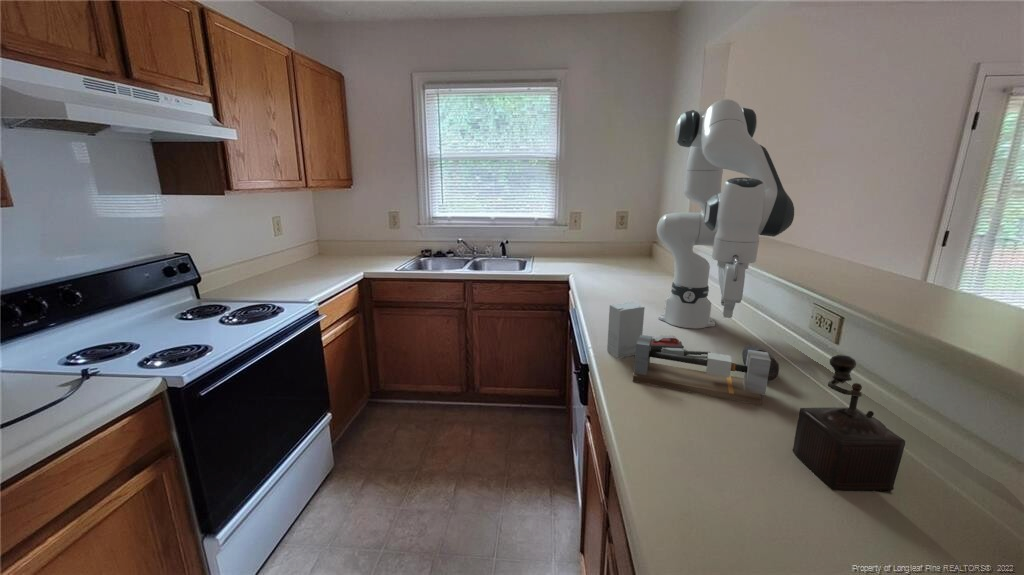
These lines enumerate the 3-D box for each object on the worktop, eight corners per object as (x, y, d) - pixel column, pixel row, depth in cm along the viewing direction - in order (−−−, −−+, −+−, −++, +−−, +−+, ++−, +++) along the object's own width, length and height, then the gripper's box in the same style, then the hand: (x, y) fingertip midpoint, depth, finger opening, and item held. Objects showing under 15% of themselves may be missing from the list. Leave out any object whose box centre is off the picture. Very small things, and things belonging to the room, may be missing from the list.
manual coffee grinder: (899, 492, 67) (928, 391, 62) (831, 491, 67) (854, 391, 62) (828, 435, 82) (847, 351, 77) (773, 435, 82) (788, 350, 77)
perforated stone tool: (734, 359, 117) (738, 336, 115) (754, 361, 116) (758, 338, 114) (755, 384, 103) (760, 358, 101) (778, 386, 102) (783, 360, 100)
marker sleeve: (705, 367, 103) (707, 352, 102) (728, 370, 101) (730, 355, 100) (706, 373, 99) (708, 358, 98) (729, 377, 97) (731, 362, 96)
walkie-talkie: (640, 356, 120) (711, 359, 118) (642, 342, 119) (713, 345, 117) (634, 345, 128) (700, 347, 127) (635, 331, 127) (702, 334, 125)
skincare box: (629, 347, 125) (633, 300, 121) (641, 355, 119) (646, 306, 116) (605, 351, 122) (608, 303, 118) (617, 359, 117) (620, 309, 113)
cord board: (637, 365, 113) (640, 331, 110) (759, 386, 101) (766, 348, 99) (632, 381, 104) (635, 343, 101) (765, 406, 92) (772, 364, 90)
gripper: (756, 261, 82) (745, 326, 86) (745, 246, 100) (737, 301, 104) (720, 259, 85) (712, 322, 88) (717, 245, 103) (710, 298, 106)
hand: (725, 310), depth 96 cm, fingers open, 8 cm apart
